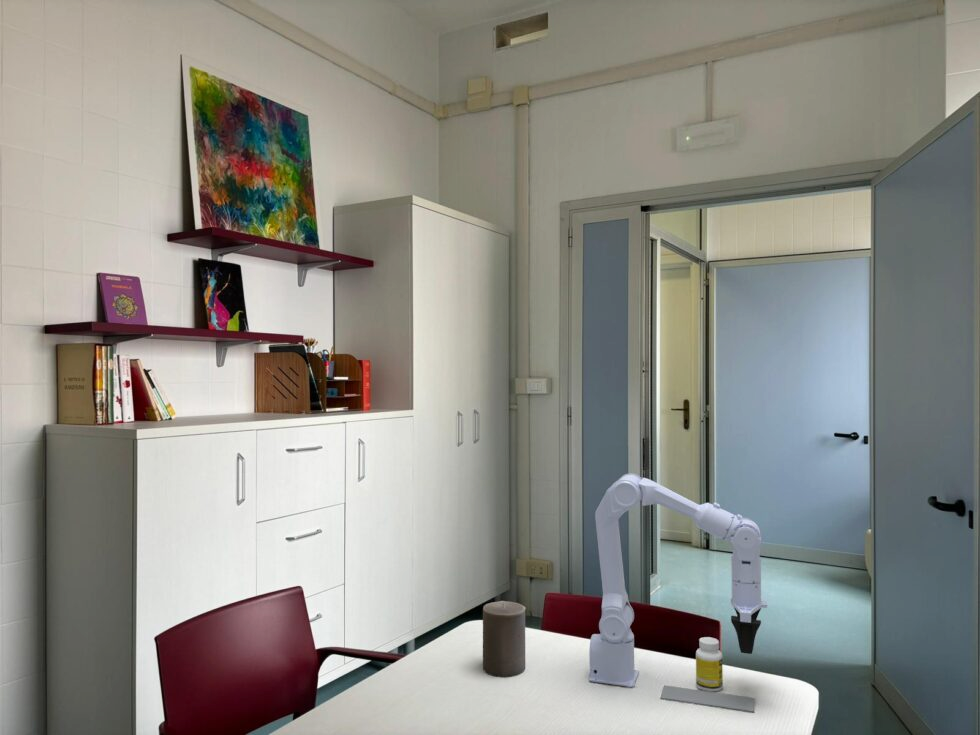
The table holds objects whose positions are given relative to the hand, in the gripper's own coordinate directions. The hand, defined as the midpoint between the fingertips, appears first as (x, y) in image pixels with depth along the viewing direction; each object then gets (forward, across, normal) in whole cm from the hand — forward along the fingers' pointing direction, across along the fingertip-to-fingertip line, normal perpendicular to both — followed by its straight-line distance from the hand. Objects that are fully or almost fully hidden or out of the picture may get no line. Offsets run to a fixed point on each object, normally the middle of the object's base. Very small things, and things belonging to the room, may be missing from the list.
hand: (746, 645), depth 148 cm
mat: (+10, -5, +8) cm, 13 cm away
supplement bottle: (+10, +1, +8) cm, 13 cm away
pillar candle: (+10, -4, +52) cm, 53 cm away
